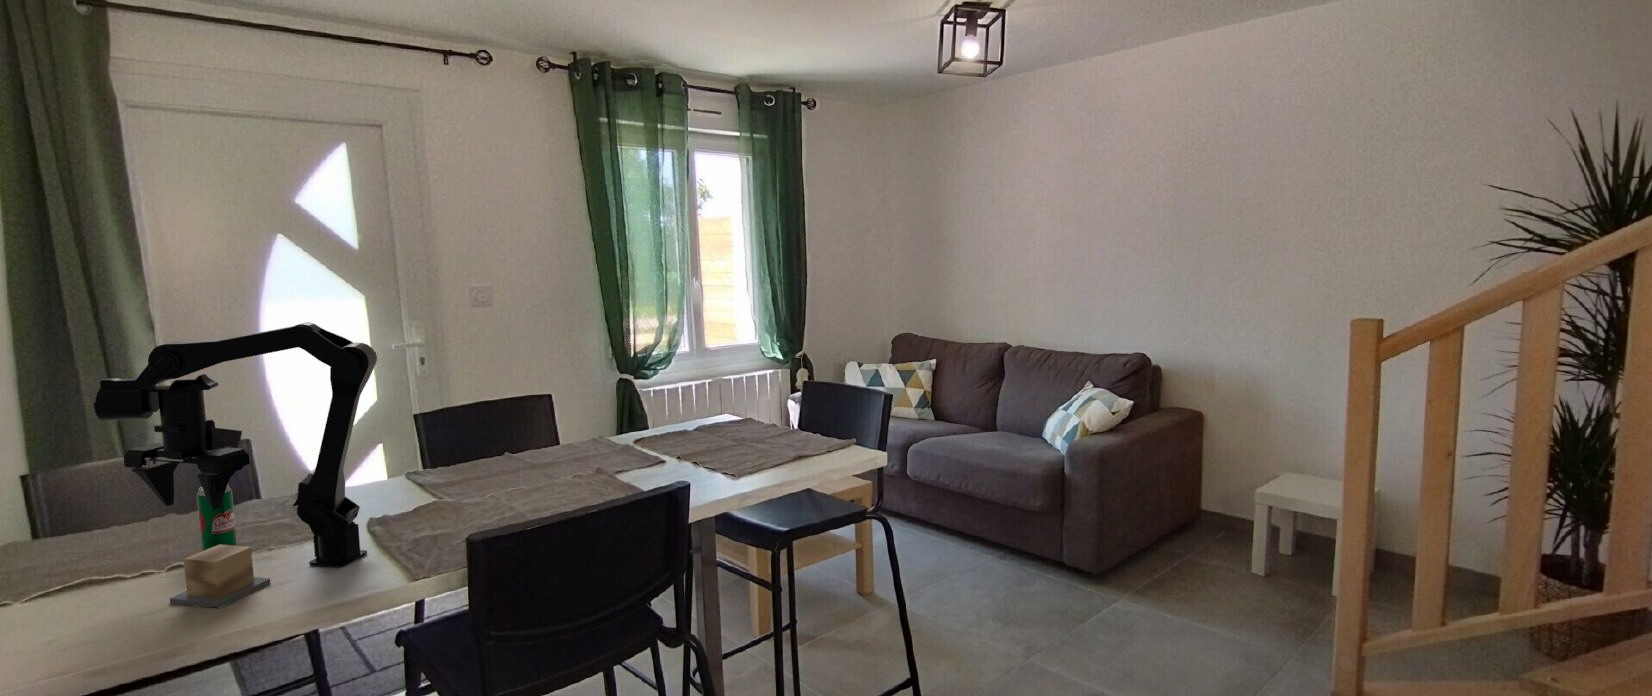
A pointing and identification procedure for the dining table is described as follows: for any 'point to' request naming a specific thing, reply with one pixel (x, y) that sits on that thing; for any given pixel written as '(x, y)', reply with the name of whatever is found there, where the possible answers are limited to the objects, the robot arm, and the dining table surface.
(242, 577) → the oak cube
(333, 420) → the robot arm
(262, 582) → the slate coaster
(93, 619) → the dining table surface
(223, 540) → the soda can
